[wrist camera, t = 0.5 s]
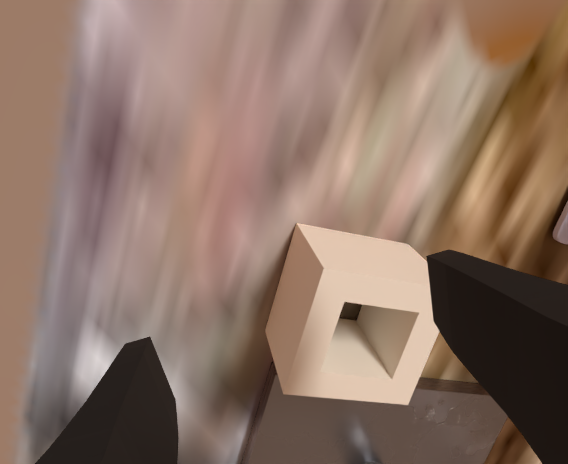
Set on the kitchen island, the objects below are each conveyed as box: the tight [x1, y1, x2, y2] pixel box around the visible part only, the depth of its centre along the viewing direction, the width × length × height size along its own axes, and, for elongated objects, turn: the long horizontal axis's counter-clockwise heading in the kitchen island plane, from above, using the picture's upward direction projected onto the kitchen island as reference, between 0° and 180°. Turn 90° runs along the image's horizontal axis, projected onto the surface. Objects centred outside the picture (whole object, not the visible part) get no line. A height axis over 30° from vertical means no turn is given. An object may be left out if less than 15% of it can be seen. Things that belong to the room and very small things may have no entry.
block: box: [265, 223, 439, 405], centre depth 21 cm, size 6×6×4 cm
